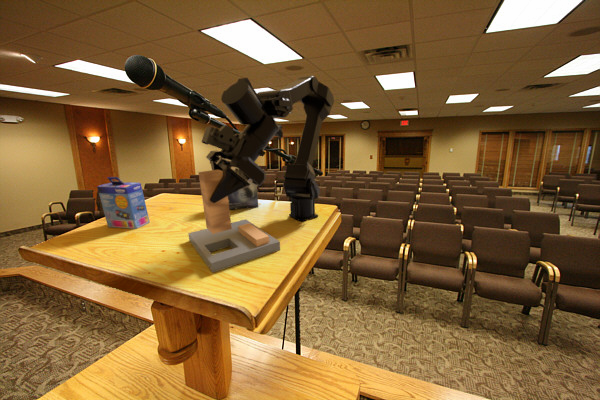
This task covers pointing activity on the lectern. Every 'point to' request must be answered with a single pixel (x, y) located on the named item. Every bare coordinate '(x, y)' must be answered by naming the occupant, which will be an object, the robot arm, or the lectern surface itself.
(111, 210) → the ink cartridge box
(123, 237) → the lectern surface
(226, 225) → the ochre column
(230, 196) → the small box
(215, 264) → the baseplate
